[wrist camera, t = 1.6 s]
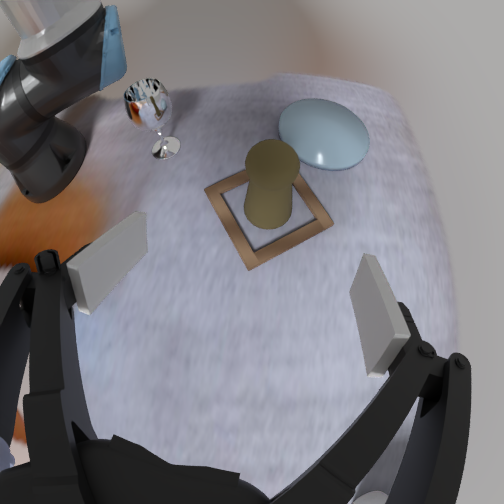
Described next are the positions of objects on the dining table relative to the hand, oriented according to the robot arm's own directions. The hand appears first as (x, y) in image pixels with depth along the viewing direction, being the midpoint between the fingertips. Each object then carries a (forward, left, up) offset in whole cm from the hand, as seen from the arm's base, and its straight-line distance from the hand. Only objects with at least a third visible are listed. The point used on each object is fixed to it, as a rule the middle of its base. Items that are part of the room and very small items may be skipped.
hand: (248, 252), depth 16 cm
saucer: (-15, +21, -16) cm, 30 cm away
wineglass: (-24, -1, -16) cm, 29 cm away
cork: (-8, +7, -16) cm, 19 cm away
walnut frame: (-8, +7, -16) cm, 19 cm away
